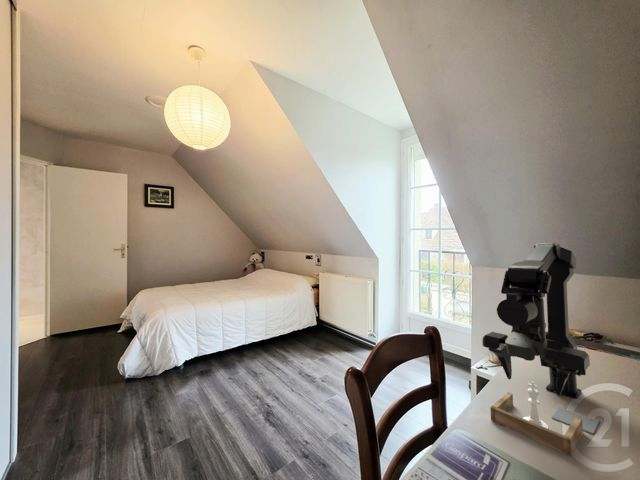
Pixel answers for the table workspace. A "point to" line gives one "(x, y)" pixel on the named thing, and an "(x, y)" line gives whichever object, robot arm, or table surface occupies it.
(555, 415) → the pad
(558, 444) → the wooden frame
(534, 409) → the chess piece
